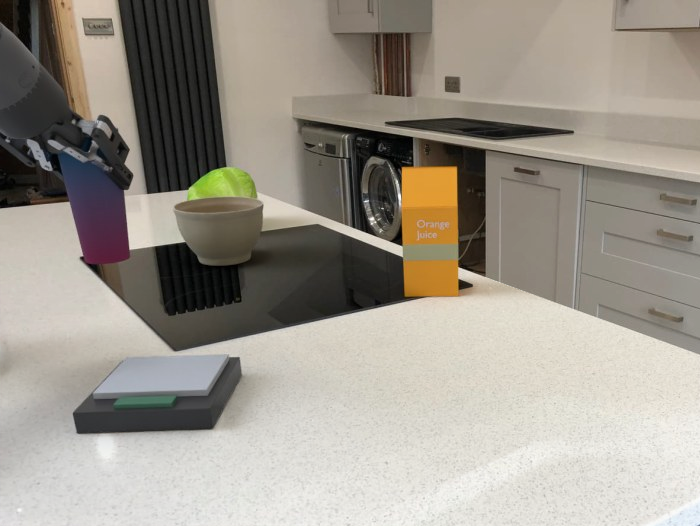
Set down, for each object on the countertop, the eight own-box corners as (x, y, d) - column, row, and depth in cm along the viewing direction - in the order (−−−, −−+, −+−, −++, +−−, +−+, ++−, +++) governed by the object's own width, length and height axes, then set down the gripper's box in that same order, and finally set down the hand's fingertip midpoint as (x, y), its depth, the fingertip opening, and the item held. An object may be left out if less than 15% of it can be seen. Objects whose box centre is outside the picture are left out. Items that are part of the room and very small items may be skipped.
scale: (76, 433, 76) (70, 405, 75) (125, 378, 89) (121, 353, 88) (212, 428, 77) (208, 401, 76) (242, 374, 90) (239, 350, 89)
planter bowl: (197, 277, 130) (188, 216, 126) (170, 258, 142) (161, 202, 138) (282, 262, 139) (276, 204, 135) (250, 246, 151) (244, 192, 147)
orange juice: (458, 296, 118) (457, 170, 111) (404, 297, 118) (399, 170, 111) (458, 282, 125) (457, 162, 118) (406, 282, 125) (402, 163, 118)
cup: (69, 258, 88) (44, 128, 83) (127, 249, 92) (107, 125, 87) (85, 269, 83) (60, 132, 78) (146, 259, 87) (126, 129, 82)
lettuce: (208, 242, 154) (200, 177, 149) (181, 225, 170) (172, 166, 165) (278, 232, 162) (271, 170, 157) (246, 217, 178) (239, 160, 173)
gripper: (79, 48, 71) (167, 158, 86) (-46, 50, 74) (60, 156, 89) (52, 109, 68) (148, 212, 83) (-78, 108, 71) (38, 208, 86)
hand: (102, 182), depth 86 cm, fingers closed on cup, 6 cm apart
